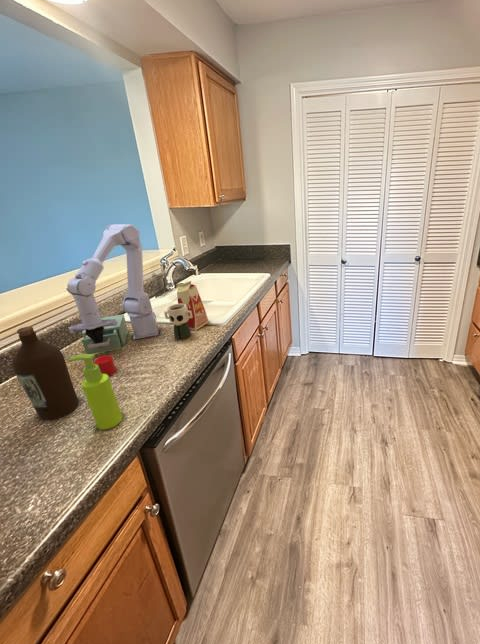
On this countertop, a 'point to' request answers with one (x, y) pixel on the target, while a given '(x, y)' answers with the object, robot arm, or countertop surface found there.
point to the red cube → (106, 365)
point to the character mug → (179, 319)
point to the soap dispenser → (99, 393)
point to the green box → (115, 327)
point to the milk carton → (192, 305)
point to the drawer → (109, 342)
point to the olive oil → (44, 376)
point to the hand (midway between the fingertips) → (100, 346)
